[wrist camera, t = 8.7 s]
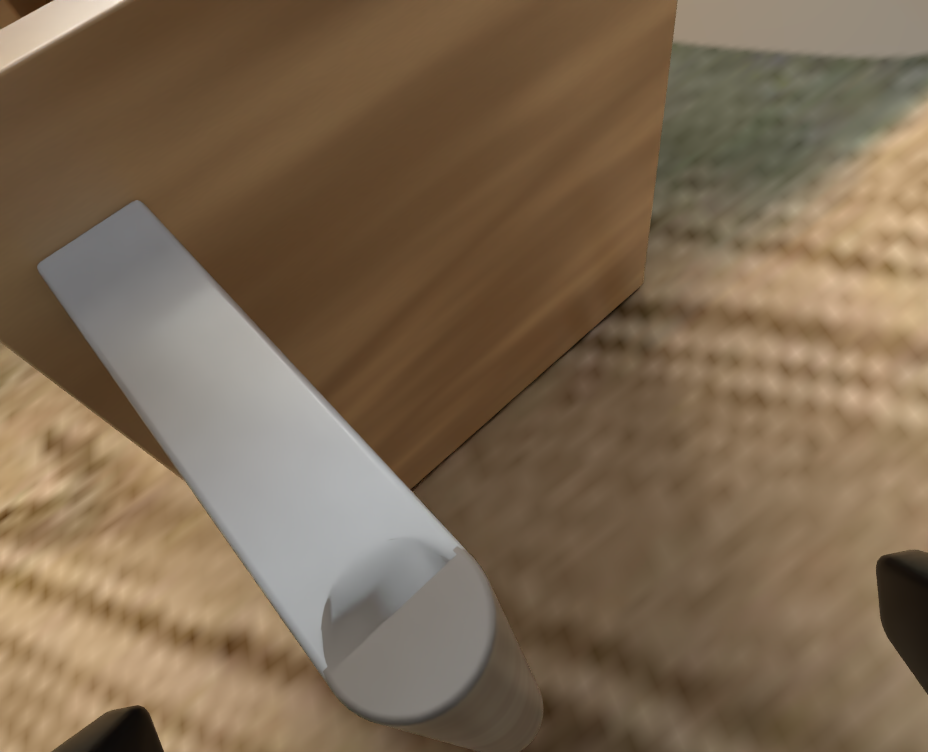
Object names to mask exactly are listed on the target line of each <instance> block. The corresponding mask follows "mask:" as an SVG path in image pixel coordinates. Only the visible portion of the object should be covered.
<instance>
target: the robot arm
mask: <svg viewBox="0 0 928 752" xmlns="http://www.w3.org/2000/svg"><path fill="white" fill-rule="evenodd" d="M876 576H877V587H878V598H879V608H880V618H881V622H882V626H883V628H884V631H885V633H886V635H887V637H888V639H889V640H890V642H891V643H892V645H893V646H894V648H895V649H896V650H897V652H898V653H899V655H900V656H901V657H902V659H903V660H904V662H905V663H906V665H907V666H908V667H909V669H910V670H911V672H912V673H913V674H914V676H915V677H916V679H917V680H918V682H919V683H920V684H921V686H922V687H923V689H924V690H925V691H926V693H927V694H928V553H927V552H923V551H919V550H907V551H902V552H897V553H893V554H888V555H883V556H881V557H880V559H879V560H878V561H877V565H876ZM52 752H164V750H163V748H162V745H161V743H160V740H159V737H158V735H157V732H156V730H155V727H154V724H153V722H152V719H151V716H150V714H149V712H148V711H147V710H146V709H145V708H144V707H142V706H139V705H136V706H131V707H126V708H121V709H116V710H111V711H109V712H106V713H105V714H103V715H102V716H100V717H99V718H98V719H96V720H95V721H93V722H92V723H91V724H89V725H88V726H86V727H85V728H84V729H82V730H81V731H80V732H78V733H77V734H75V735H74V736H73V737H71V738H70V739H68V740H67V741H66V742H64V743H63V744H61V745H60V746H59V747H57V748H56V749H54V750H53V751H52Z"/></svg>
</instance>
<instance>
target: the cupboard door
mask: <svg viewBox="0 0 928 752" xmlns="http://www.w3.org/2000/svg"><path fill="white" fill-rule="evenodd" d="M677 1H678V0H53V1H52V2H50V3H48V4H46V5H44V6H42V7H41V8H39V9H37V10H35V11H33V12H32V13H30V14H28V15H26V16H24V17H23V18H21V19H19V20H17V21H15V22H13V23H12V24H10V25H8V26H6V27H4V28H3V29H1V30H0V342H1V343H2V344H3V345H5V346H6V347H7V348H9V349H10V350H11V351H13V352H14V353H15V354H17V355H18V356H19V357H21V358H22V359H23V360H25V361H26V362H27V363H29V364H30V365H31V366H33V367H34V368H35V369H37V370H38V371H39V372H41V373H42V374H43V375H45V376H46V377H47V378H49V379H50V380H51V381H53V382H54V383H55V384H56V385H58V386H59V387H60V388H62V389H63V390H64V391H66V392H67V393H68V394H70V395H71V396H72V397H74V398H75V399H76V400H78V401H79V402H80V403H82V404H83V405H84V406H86V407H87V408H88V409H90V410H91V411H92V412H94V413H95V414H96V415H98V416H99V417H100V418H102V419H103V420H104V421H106V422H107V423H108V424H110V425H111V426H112V427H114V428H115V429H116V430H118V431H119V432H120V433H122V434H123V435H124V436H126V437H127V438H128V439H130V440H131V441H132V442H134V443H135V444H136V445H138V446H139V447H140V448H142V449H143V450H144V451H145V452H147V453H148V454H149V455H151V456H152V457H153V458H155V459H156V460H157V461H159V462H160V463H161V464H163V465H164V466H165V467H167V468H168V469H169V470H171V471H172V472H173V473H175V474H176V475H177V476H179V477H180V478H181V479H183V480H184V481H185V482H186V483H187V485H188V486H189V488H190V489H191V490H192V492H193V493H194V495H195V496H196V498H197V499H198V500H199V502H200V503H201V505H202V506H203V507H204V509H205V510H206V512H207V513H208V515H209V516H210V517H211V519H212V520H213V522H214V523H215V525H216V526H217V527H218V529H219V530H220V532H221V533H222V535H223V536H224V537H225V539H226V540H227V542H228V543H229V545H230V546H231V547H232V549H233V550H234V552H235V553H236V555H237V556H238V557H239V559H240V560H241V562H242V563H243V565H244V566H245V567H246V569H247V570H248V572H249V573H250V575H251V576H252V577H253V579H254V580H255V582H256V583H257V585H258V586H259V587H260V589H261V590H262V592H263V593H264V595H265V596H266V597H267V599H268V600H269V602H270V603H271V604H272V606H273V607H274V609H275V610H276V612H277V613H278V614H279V616H280V617H281V619H282V620H283V622H284V623H285V624H286V626H287V627H288V629H289V630H290V632H291V633H292V634H293V636H294V637H295V639H296V640H297V642H298V643H299V644H300V646H301V647H302V649H303V650H304V652H305V653H306V654H307V656H308V657H309V659H310V660H311V662H312V663H313V664H314V666H315V667H316V669H317V670H318V672H319V673H320V674H321V676H322V677H323V679H324V680H325V682H327V684H328V686H329V687H330V689H331V691H332V692H333V693H334V695H335V696H336V697H337V698H338V699H339V701H340V702H341V703H342V704H344V705H345V706H346V707H347V708H348V709H349V710H351V711H352V712H354V713H355V714H357V715H358V716H360V717H362V718H364V719H366V720H368V721H370V722H374V723H377V724H381V725H384V726H388V727H391V728H395V729H399V730H402V731H406V732H410V733H413V734H417V735H420V736H424V737H428V738H431V739H435V740H438V741H442V742H446V743H449V744H453V745H457V746H460V747H464V748H467V749H471V750H475V751H478V752H519V751H521V750H523V749H524V748H526V747H527V746H528V745H529V744H530V743H531V742H532V740H533V739H534V738H535V736H536V735H537V733H538V731H539V728H540V726H541V722H542V718H543V700H542V695H541V692H540V689H539V687H538V685H537V683H536V680H535V678H534V676H533V674H532V672H531V670H530V668H529V666H528V663H527V661H526V659H525V657H524V655H523V653H522V651H521V648H520V646H519V644H518V642H517V640H516V638H515V636H514V633H513V631H512V629H511V627H510V625H509V623H508V621H507V618H506V616H505V614H504V612H503V610H502V608H501V606H500V603H499V601H498V599H497V597H496V595H495V593H494V591H493V589H492V586H491V584H490V582H489V580H488V578H487V576H486V574H485V573H484V571H483V569H482V568H481V566H480V565H479V564H478V562H477V561H476V560H475V559H474V557H473V556H471V555H470V554H469V553H468V552H467V550H466V549H465V548H464V547H463V546H462V545H461V544H460V543H459V542H458V541H457V539H456V538H455V537H454V536H453V535H452V534H451V533H450V532H449V531H448V530H447V529H446V528H445V527H444V525H443V524H442V523H441V522H440V521H439V520H438V519H437V518H436V517H435V516H434V515H433V514H432V513H431V511H430V510H429V509H428V508H427V507H426V506H425V505H424V504H423V503H422V502H421V501H420V500H419V499H418V498H417V496H416V495H415V494H414V493H413V492H412V491H411V490H410V489H411V488H413V487H414V486H415V485H416V484H417V483H418V482H419V481H421V480H422V479H423V478H424V477H425V476H426V475H427V474H428V473H430V472H431V471H432V470H433V469H434V468H435V467H436V466H437V465H439V464H440V463H441V462H442V461H443V460H444V459H445V458H447V457H448V456H449V455H450V454H451V453H452V452H453V451H454V450H456V449H457V448H458V447H459V446H460V445H461V444H462V443H463V442H465V441H466V440H467V439H468V438H469V437H470V436H471V435H473V434H474V433H475V432H476V431H477V430H478V429H479V428H480V427H482V426H483V425H484V424H485V423H486V422H487V421H488V420H489V419H491V418H492V417H493V416H494V415H495V414H496V413H497V412H499V411H500V410H501V409H502V408H503V407H504V406H505V405H506V404H508V403H509V402H510V401H511V400H512V399H513V398H514V397H515V396H517V395H518V394H519V393H520V392H521V391H522V390H523V389H525V388H526V387H527V386H528V385H529V384H530V383H531V382H532V381H534V380H535V379H536V378H537V377H538V376H539V375H540V374H541V373H543V372H544V371H545V370H546V369H547V368H548V367H549V366H551V365H552V364H553V363H554V362H555V361H556V360H557V359H558V358H560V357H561V356H562V355H563V354H564V353H565V352H566V351H567V350H569V349H570V348H571V347H572V346H573V345H574V344H575V343H577V342H578V341H579V340H580V339H581V338H582V337H583V336H584V335H586V334H587V333H588V332H589V331H590V330H591V329H592V328H593V327H595V326H596V325H597V324H598V323H599V322H600V321H601V320H603V319H604V318H605V317H606V316H607V315H608V314H609V313H610V312H612V311H613V310H614V309H615V308H616V307H617V306H618V305H619V304H621V303H622V302H623V301H624V300H625V299H626V298H627V297H629V296H630V295H631V294H632V293H633V292H634V291H635V290H636V289H638V288H639V287H640V286H641V285H642V284H643V279H644V271H645V263H646V254H647V246H648V238H649V230H650V222H651V214H652V205H653V197H654V189H655V181H656V173H657V165H658V156H659V148H660V140H661V132H662V124H663V116H664V107H665V99H666V91H667V83H668V75H669V67H670V58H671V50H672V42H673V34H674V25H675V18H676V9H677Z"/></svg>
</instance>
